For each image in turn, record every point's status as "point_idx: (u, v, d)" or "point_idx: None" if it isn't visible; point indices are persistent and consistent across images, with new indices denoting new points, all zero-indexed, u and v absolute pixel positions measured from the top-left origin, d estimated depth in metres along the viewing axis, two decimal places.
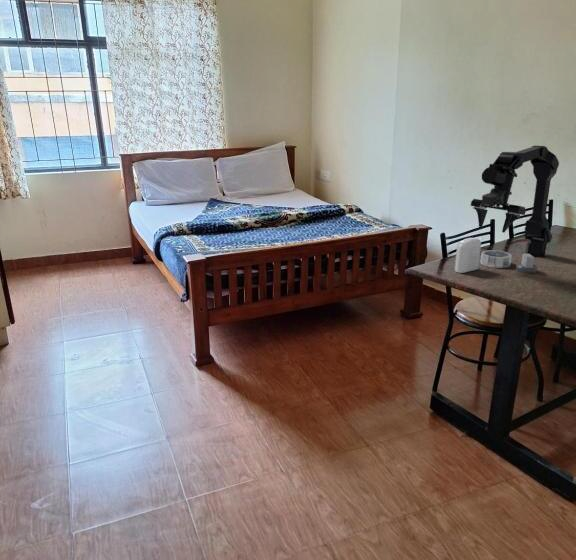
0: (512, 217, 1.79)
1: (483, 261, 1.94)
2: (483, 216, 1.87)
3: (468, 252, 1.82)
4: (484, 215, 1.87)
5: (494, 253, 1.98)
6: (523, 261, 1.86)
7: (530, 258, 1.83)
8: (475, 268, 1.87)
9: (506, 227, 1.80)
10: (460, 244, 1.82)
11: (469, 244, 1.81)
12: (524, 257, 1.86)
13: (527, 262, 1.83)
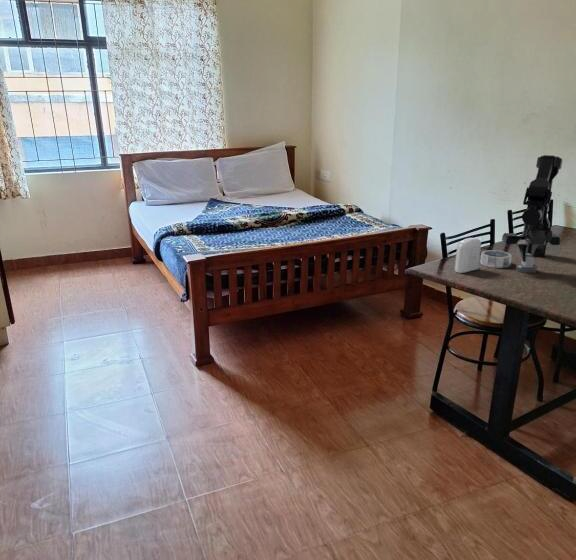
0: None
1: (483, 261, 1.94)
2: None
3: (468, 252, 1.82)
4: None
5: (494, 253, 1.98)
6: None
7: (530, 258, 1.83)
8: (475, 268, 1.87)
9: None
10: (460, 244, 1.82)
11: (469, 244, 1.81)
12: None
13: (527, 262, 1.83)
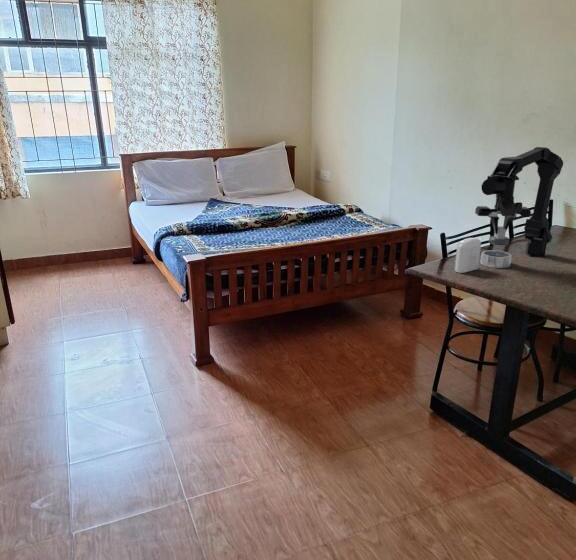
0: None
1: (483, 261, 1.94)
2: None
3: (468, 252, 1.82)
4: None
5: (494, 253, 1.98)
6: None
7: (502, 230, 1.88)
8: (475, 268, 1.87)
9: None
10: (460, 244, 1.82)
11: (469, 244, 1.81)
12: None
13: (499, 234, 1.89)
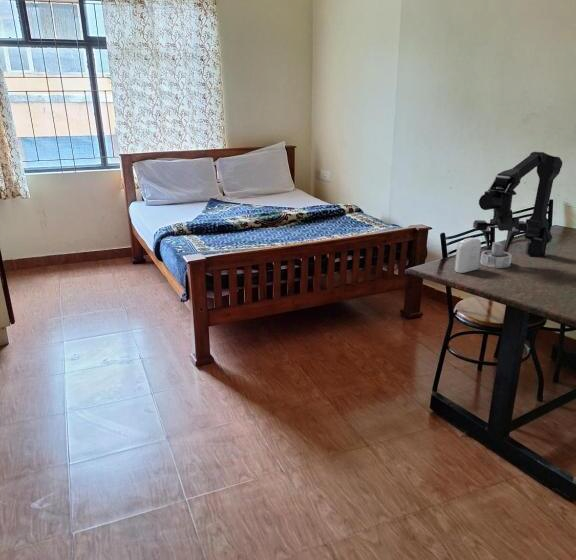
0: None
1: (483, 261, 1.94)
2: None
3: (468, 252, 1.82)
4: None
5: None
6: (493, 249, 1.94)
7: (499, 246, 1.91)
8: (475, 268, 1.87)
9: None
10: (460, 244, 1.82)
11: (469, 244, 1.81)
12: (494, 245, 1.93)
13: (496, 250, 1.91)
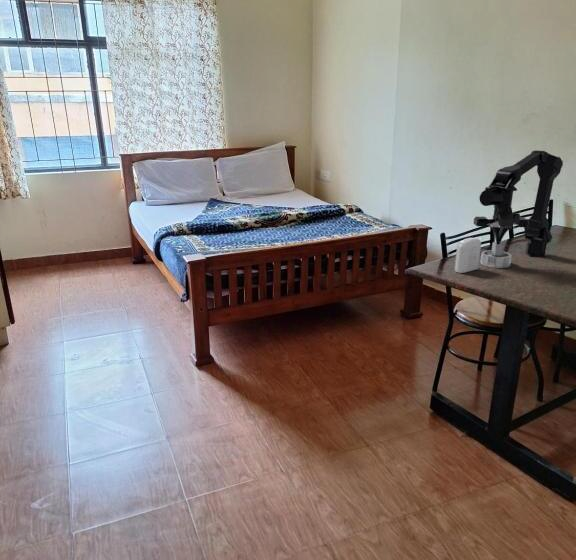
0: None
1: (483, 261, 1.94)
2: None
3: (468, 252, 1.82)
4: None
5: None
6: (493, 249, 1.94)
7: (499, 246, 1.91)
8: (475, 268, 1.87)
9: None
10: (460, 244, 1.82)
11: (469, 244, 1.81)
12: (494, 245, 1.93)
13: (496, 250, 1.91)
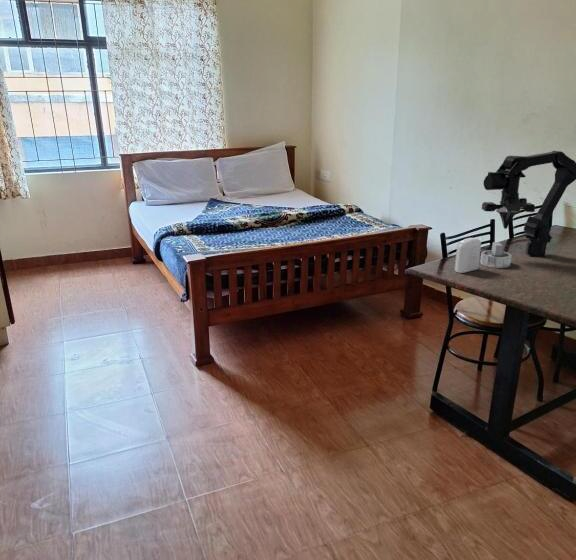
0: None
1: (483, 261, 1.94)
2: None
3: (468, 252, 1.82)
4: None
5: None
6: (493, 249, 1.94)
7: (499, 246, 1.91)
8: (475, 268, 1.87)
9: None
10: (460, 244, 1.82)
11: (469, 244, 1.81)
12: (494, 245, 1.93)
13: (496, 250, 1.91)
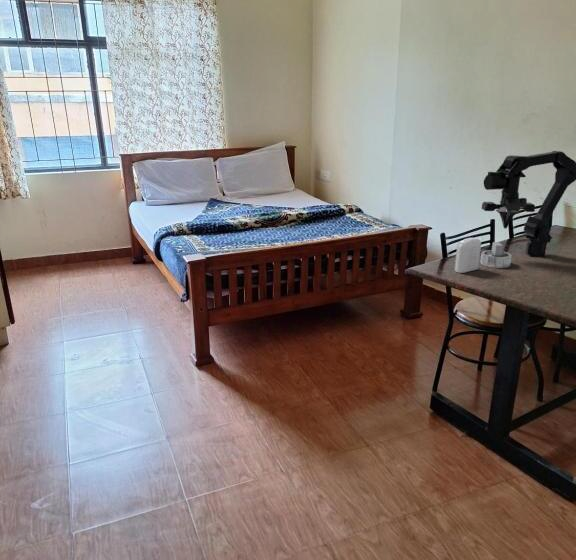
0: None
1: (483, 261, 1.94)
2: None
3: (468, 252, 1.82)
4: None
5: None
6: (493, 249, 1.94)
7: (499, 246, 1.91)
8: (475, 268, 1.87)
9: None
10: (460, 244, 1.82)
11: (469, 244, 1.81)
12: (494, 245, 1.93)
13: (496, 250, 1.91)
